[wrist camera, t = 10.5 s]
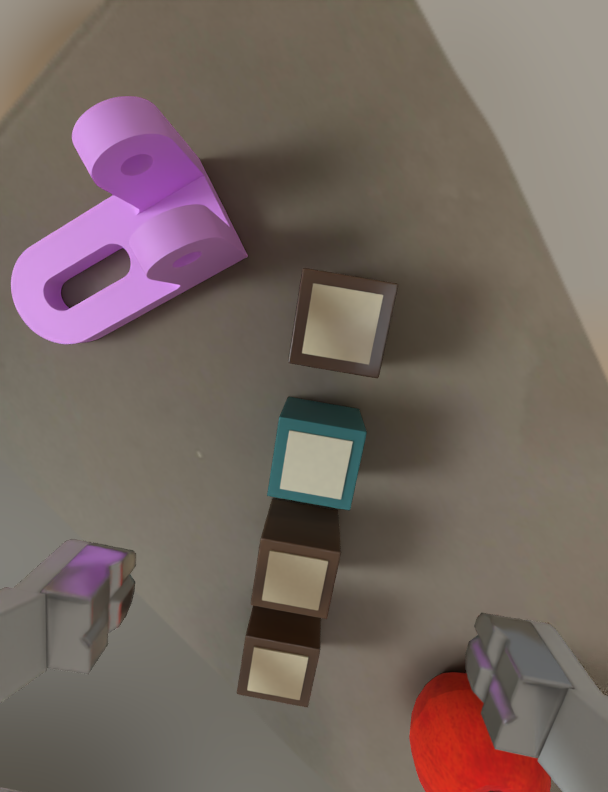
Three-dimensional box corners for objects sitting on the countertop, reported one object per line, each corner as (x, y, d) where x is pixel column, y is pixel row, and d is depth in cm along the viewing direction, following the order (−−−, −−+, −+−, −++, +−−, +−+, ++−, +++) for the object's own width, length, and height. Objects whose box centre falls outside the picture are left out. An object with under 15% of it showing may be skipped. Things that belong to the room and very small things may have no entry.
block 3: (307, 276, 21) (302, 267, 16) (384, 289, 21) (399, 283, 16) (295, 353, 22) (287, 363, 17) (368, 365, 22) (379, 379, 17)
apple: (501, 630, 25) (570, 757, 18) (521, 718, 27) (592, 867, 20) (387, 652, 26) (410, 781, 19) (412, 736, 28) (443, 884, 21)
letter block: (288, 396, 22) (279, 417, 18) (359, 408, 22) (367, 432, 18) (277, 462, 23) (266, 497, 19) (345, 474, 23) (350, 511, 19)
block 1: (272, 497, 24) (260, 539, 20) (338, 509, 24) (341, 553, 20) (263, 555, 25) (249, 607, 21) (326, 567, 25) (327, 621, 21)
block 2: (258, 581, 26) (245, 637, 21) (321, 592, 25) (320, 651, 21) (250, 632, 27) (236, 696, 22) (310, 643, 26) (307, 709, 22)
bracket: (199, 158, 20) (133, 78, 13) (248, 256, 21) (210, 229, 14) (12, 273, 22) (-130, 255, 15) (65, 357, 23) (-46, 376, 16)
